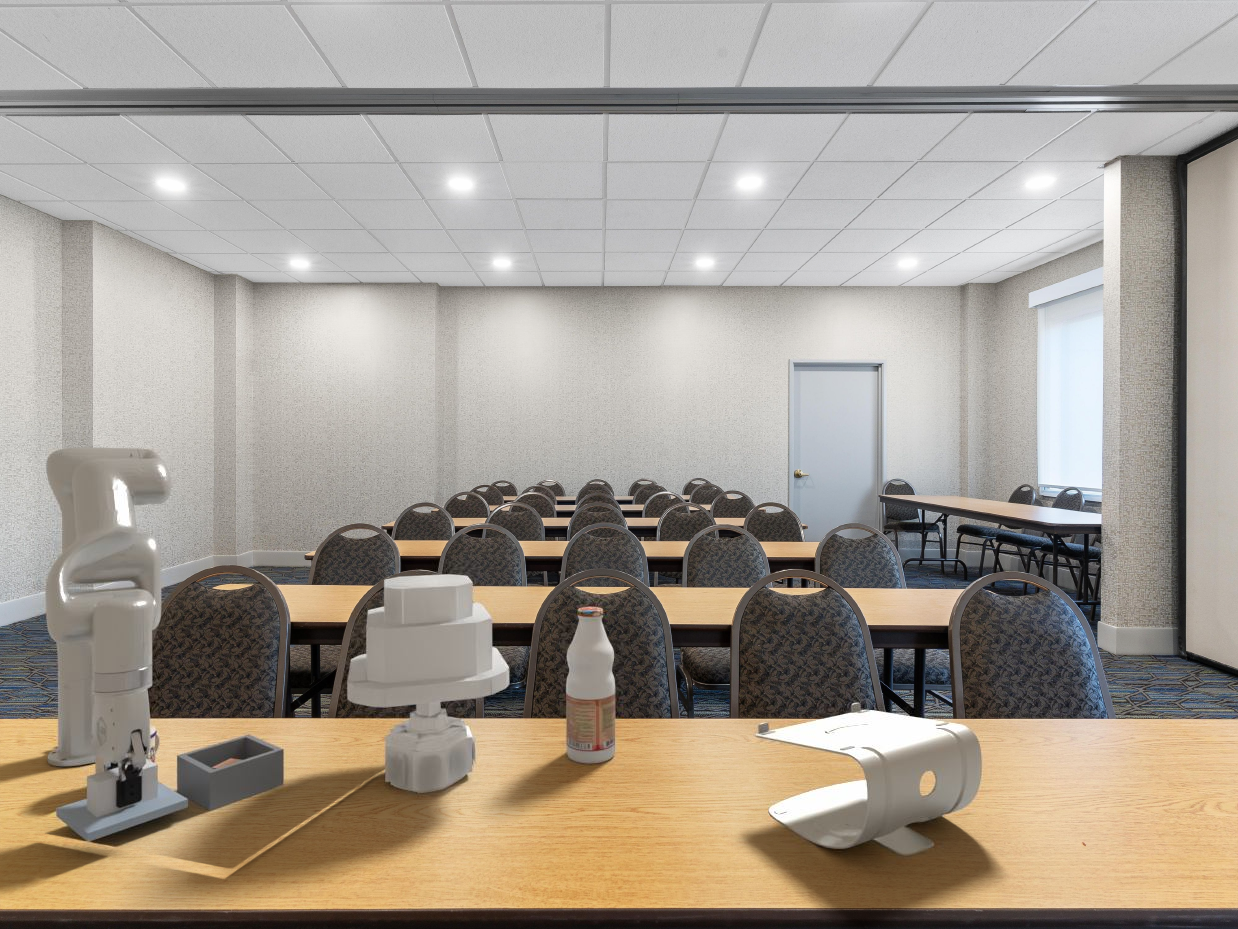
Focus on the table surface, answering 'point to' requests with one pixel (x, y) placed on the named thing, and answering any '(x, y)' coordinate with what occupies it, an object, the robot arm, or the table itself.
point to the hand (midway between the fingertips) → (122, 798)
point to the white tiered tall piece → (427, 675)
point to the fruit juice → (590, 691)
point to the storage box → (229, 771)
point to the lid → (103, 814)
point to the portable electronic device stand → (881, 778)
